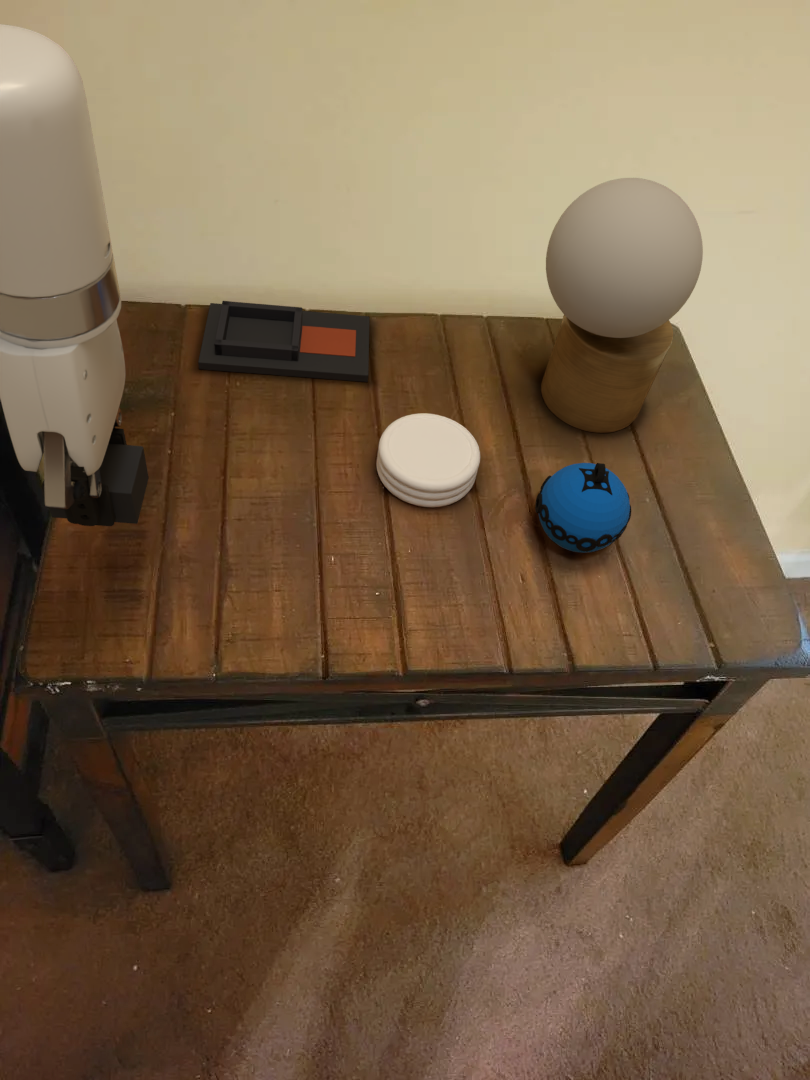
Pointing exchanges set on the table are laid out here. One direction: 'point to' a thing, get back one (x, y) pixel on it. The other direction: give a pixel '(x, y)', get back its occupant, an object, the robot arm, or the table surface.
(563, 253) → the lamp
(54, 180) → the robot arm
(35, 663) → the table surface
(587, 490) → the ornament
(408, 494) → the coaster
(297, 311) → the base pad
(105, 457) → the dark grey block
